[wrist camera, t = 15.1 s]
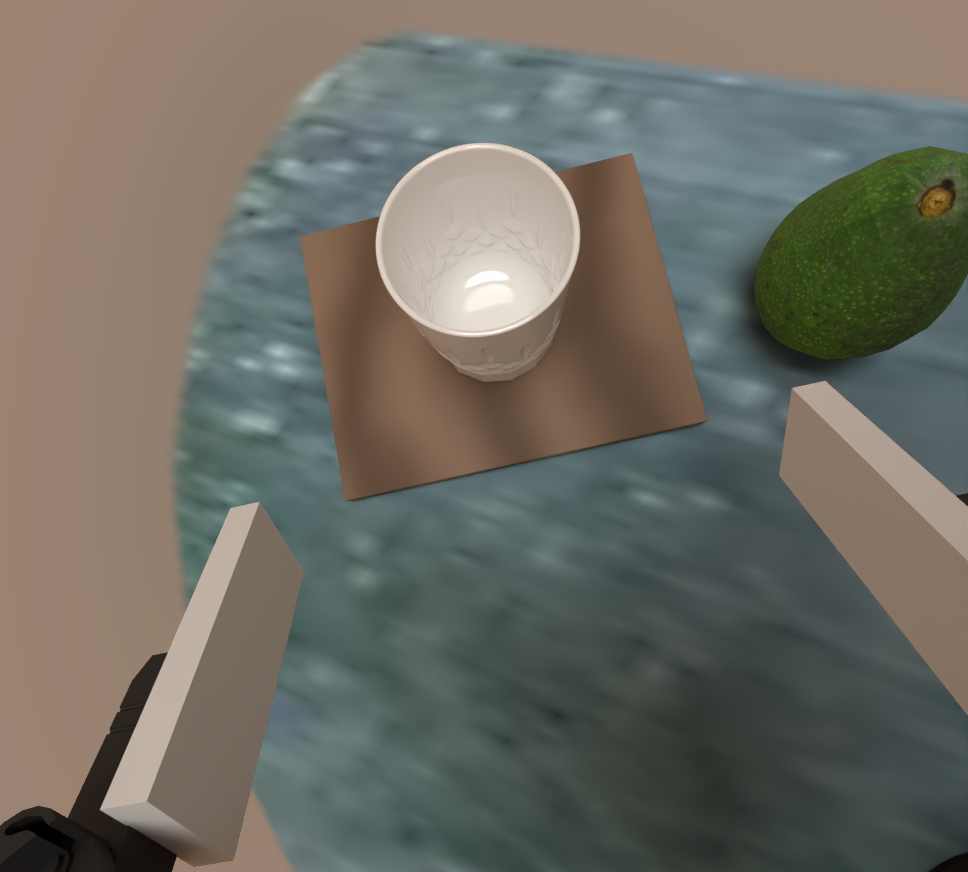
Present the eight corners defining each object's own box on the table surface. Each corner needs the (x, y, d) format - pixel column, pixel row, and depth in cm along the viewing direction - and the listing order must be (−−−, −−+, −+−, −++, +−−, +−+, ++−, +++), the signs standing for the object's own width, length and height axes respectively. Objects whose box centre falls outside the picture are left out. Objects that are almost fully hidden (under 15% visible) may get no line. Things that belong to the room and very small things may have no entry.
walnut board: (628, 166, 33) (632, 152, 31) (700, 424, 30) (707, 420, 29) (308, 246, 34) (300, 236, 33) (352, 501, 31) (345, 500, 30)
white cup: (398, 321, 31) (334, 234, 21) (501, 231, 31) (485, 104, 22) (488, 422, 30) (465, 379, 20) (595, 328, 30) (624, 239, 20)
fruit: (891, 370, 30) (1129, 276, 18) (741, 389, 30) (875, 310, 18) (859, 233, 31) (1063, 58, 19) (716, 254, 31) (827, 97, 20)
